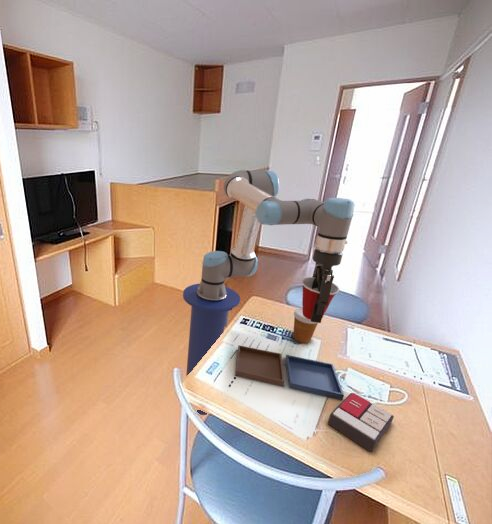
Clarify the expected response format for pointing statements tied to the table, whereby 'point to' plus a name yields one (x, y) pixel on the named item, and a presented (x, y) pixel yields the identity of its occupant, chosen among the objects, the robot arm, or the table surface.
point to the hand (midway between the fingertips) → (313, 315)
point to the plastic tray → (313, 377)
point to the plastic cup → (314, 296)
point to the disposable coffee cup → (303, 327)
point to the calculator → (361, 421)
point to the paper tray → (260, 365)
